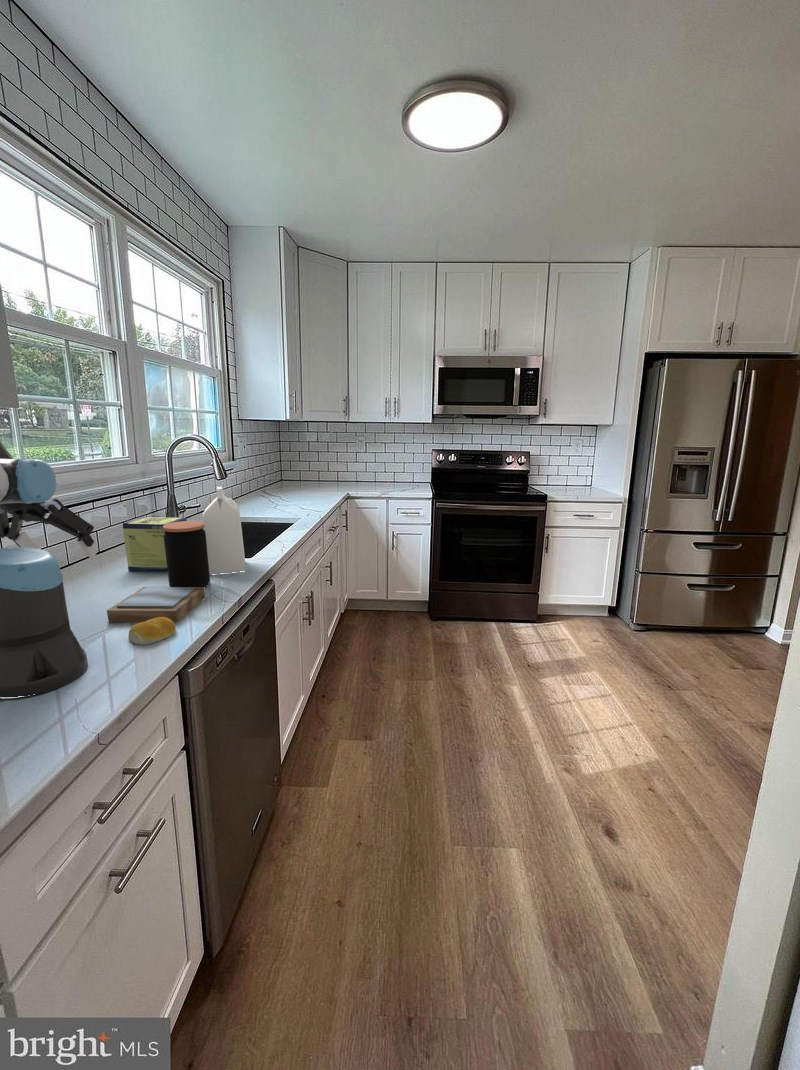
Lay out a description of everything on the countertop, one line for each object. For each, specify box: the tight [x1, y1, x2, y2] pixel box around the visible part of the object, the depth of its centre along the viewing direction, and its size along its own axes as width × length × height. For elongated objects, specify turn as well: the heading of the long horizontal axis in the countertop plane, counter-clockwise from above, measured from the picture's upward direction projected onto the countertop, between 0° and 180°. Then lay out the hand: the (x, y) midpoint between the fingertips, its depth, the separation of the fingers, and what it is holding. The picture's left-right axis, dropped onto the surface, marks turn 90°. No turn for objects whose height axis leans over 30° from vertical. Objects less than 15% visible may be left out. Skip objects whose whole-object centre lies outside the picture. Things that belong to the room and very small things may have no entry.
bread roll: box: [127, 617, 177, 646], centre depth 101 cm, size 8×9×4 cm
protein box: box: [122, 516, 188, 573], centre depth 149 cm, size 10×16×16 cm
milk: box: [202, 486, 246, 576], centre depth 146 cm, size 12×12×26 cm
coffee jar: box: [163, 520, 211, 588], centre depth 130 cm, size 11×11×18 cm
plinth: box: [106, 586, 206, 624], centre depth 116 cm, size 16×16×4 cm
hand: (65, 554), depth 109 cm, fingers open, 13 cm apart
